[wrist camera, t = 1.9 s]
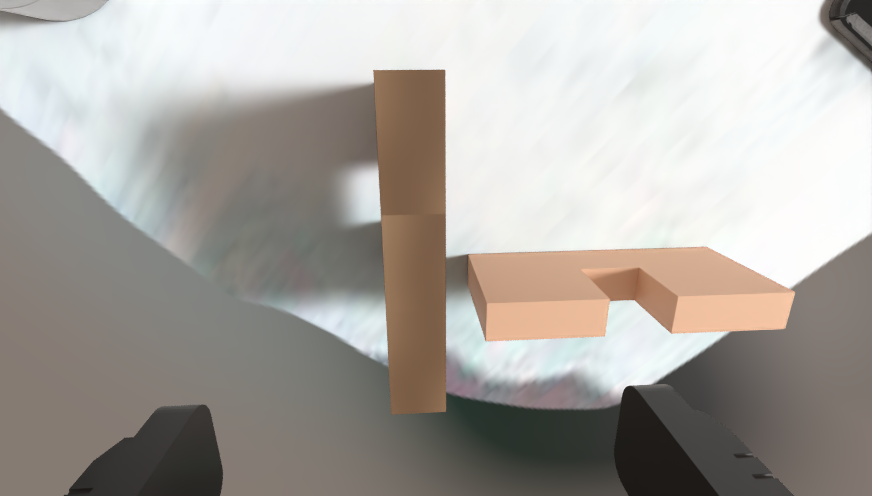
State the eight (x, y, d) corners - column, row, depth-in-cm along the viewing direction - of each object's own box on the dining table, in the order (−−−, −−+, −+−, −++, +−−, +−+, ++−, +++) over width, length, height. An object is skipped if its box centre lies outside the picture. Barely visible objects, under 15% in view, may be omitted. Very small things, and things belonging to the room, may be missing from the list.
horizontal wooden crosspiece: (467, 284, 33) (485, 341, 25) (468, 254, 32) (486, 303, 25) (700, 276, 34) (784, 328, 26) (706, 246, 33) (795, 292, 26)
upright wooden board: (397, 284, 33) (391, 414, 19) (389, 81, 28) (373, 70, 15) (430, 283, 33) (445, 411, 19) (427, 81, 28) (445, 69, 15)
